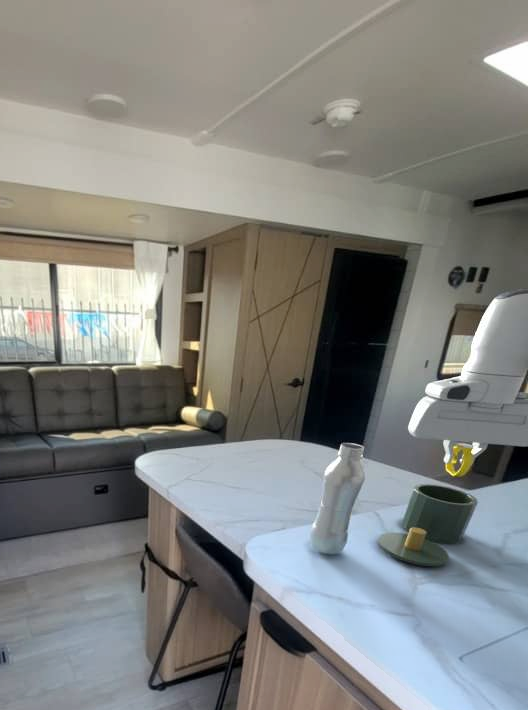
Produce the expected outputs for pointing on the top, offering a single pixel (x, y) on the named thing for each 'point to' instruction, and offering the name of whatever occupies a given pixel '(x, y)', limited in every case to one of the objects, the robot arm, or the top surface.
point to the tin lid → (413, 548)
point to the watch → (466, 460)
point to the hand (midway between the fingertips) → (457, 463)
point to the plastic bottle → (338, 500)
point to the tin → (439, 512)
